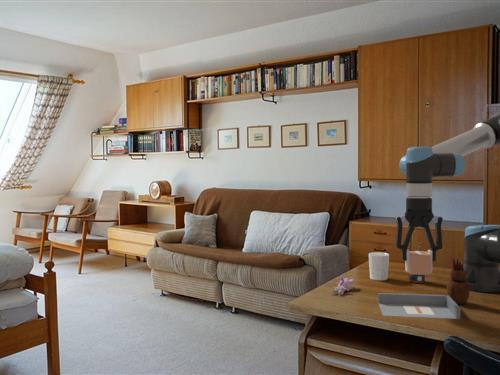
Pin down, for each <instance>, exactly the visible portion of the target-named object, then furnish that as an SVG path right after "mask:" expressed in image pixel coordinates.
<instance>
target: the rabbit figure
mask: <svg viewBox="0 0 500 375" xmlns="http://www.w3.org/2000/svg"><path fill="white" fill-rule="evenodd" d="M354 281H355V279H354V278H352V279H351V278H347V277H345V278H343V277H341V278H340V280H339V283H338V284H337V286H334V287H332V289H333V291H332V293H331V295H332V296H335V295H338V297H341V296H343V295H344V293H345V292H347V291H348V292H349V291H350V290H351V289H352V284H353V283H354Z"/></svg>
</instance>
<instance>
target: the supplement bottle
mask: <svg viewBox="0 0 500 375" xmlns="http://www.w3.org/2000/svg"><path fill="white" fill-rule="evenodd" d="M425 280H426V275H415V274H410V273H409V272H408V281H409V282H411V283H413V284H423V283H425Z"/></svg>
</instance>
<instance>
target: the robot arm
mask: <svg viewBox="0 0 500 375" xmlns="http://www.w3.org/2000/svg"><path fill="white" fill-rule="evenodd" d="M494 146H500V114H497V115H494V116H492V117H490V118H488V119H486V120H484V121H483V120H482V121H481V122H478V123H477V124H475V125H474V126H473V128H472V129H470V130H467V131H465V132H463V133H460V134H458V135H456V136H454V137H451V138H449V139H447V140H444V141H442V142H440V143H437V144H435V145H433V146H410V147H408V148H407V150H406V154H405V155H403V156H402V157H401V158H400V159H399V160H400V161H399V164H398V166H399V167H398V168H399V170H400V172H401V174H403V175H404V176H406V178H405V179H406V180H405V181H406V182H405V183H406V184H405V186H406V187H405V190H406V191H405V195H406V196H407V197H406V198H405V213H404V214H403V215H400V216H399V215H397V216H395V220H396V223H397V224H396V235H395V236H396V237H395V238H396V240H395V247H396V248H397V249H399V250H401V260H402V261H405V263H404V264H405V269H404V270H405V272H406V273H409V254H410V251H411V250H409V249H408V248H409V244H410V242H411V239H412V235H413V232H414V230H415V228H422V229H423V230H424V233H425V235H426V240H427V243H428V246H429V248H430V249H427V252H428V253H429V254H430V255H431V274H432V273H433V262H436V261H437V251H439V250H442V249H443V235H442V233H443V231H442V222H443V219H444V218H443V217H442V216H438V215H435V214H434V213H433V199H432V198H431V196H433V178H453V177H459V176H461V175H463V173H464V172H465V171H466V170H465V169H466V159H465V156H468V155H470V154H472V153H473V152H475V151H478V150H481V149H490V148H492V147H494ZM405 219H406V222H408V225H407V226H408V227H407V230H406V234H405V236H404V239H403V237H402V236H403V223H404V222H405ZM432 220H433V222H434V227H435V228H434V231H435V241H434V238H433V235H432V232H431V229H430V225H429V224H430V223H431V221H432ZM464 230H465V231H464V236H463V238H464V243H463V244H464V246H463V247H464V249H463V250H464V251H463V252H464V264H463V268H464V270H465V271H466V273H467V277H466V279H465V280H464V281H467V282H468V284H469V286H470V291H474V292H479V293H480V292H481V293H499V292H500V224H499V225H498V224H483V225H482V224H480V225H469V226H467V227H466V228H465V229H464ZM402 239H403V242H402ZM435 243H436V244H435Z"/></svg>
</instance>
